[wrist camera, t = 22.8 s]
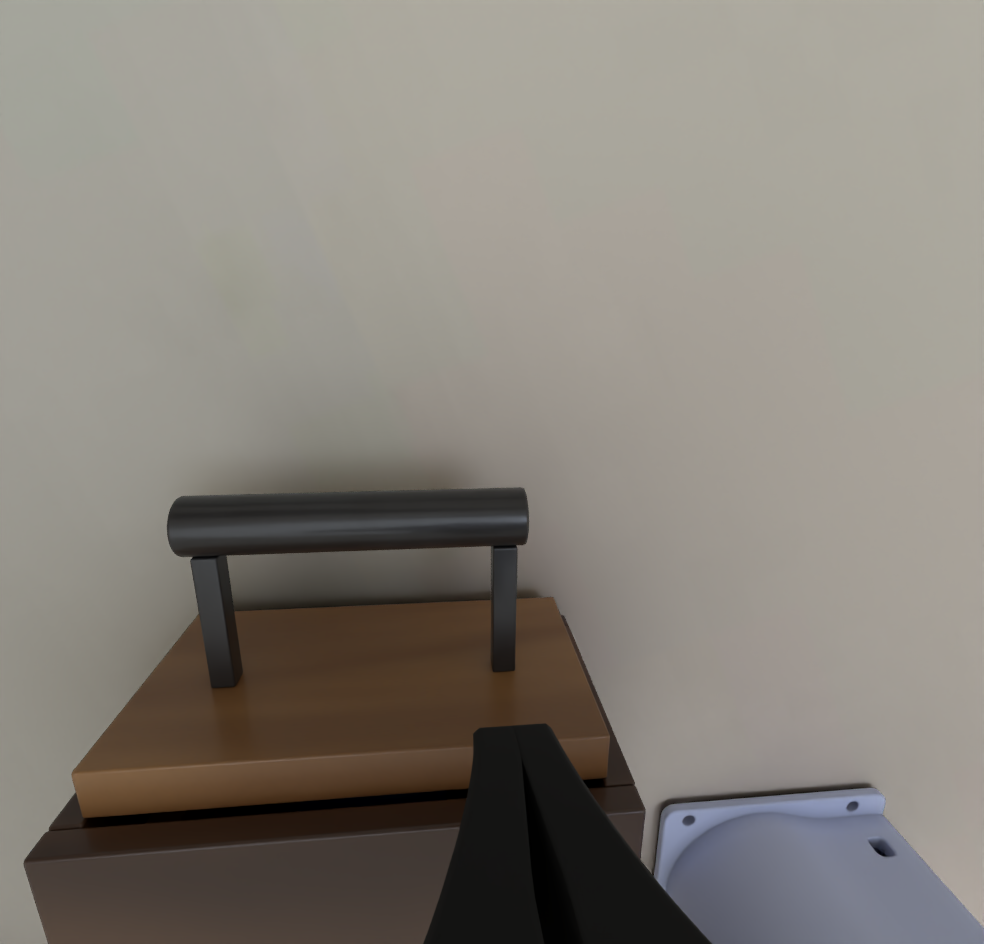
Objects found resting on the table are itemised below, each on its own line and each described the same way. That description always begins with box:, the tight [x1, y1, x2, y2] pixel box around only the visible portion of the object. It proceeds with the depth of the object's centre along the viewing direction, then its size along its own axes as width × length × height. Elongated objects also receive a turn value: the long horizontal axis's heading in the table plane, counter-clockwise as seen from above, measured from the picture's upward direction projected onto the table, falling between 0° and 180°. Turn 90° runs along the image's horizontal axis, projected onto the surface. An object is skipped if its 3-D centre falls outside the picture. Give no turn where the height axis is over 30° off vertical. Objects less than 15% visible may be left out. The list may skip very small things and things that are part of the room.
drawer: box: [72, 487, 610, 823], centre depth 16 cm, size 18×11×6 cm, turn 0°
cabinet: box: [24, 615, 645, 944], centre depth 17 cm, size 14×12×8 cm
